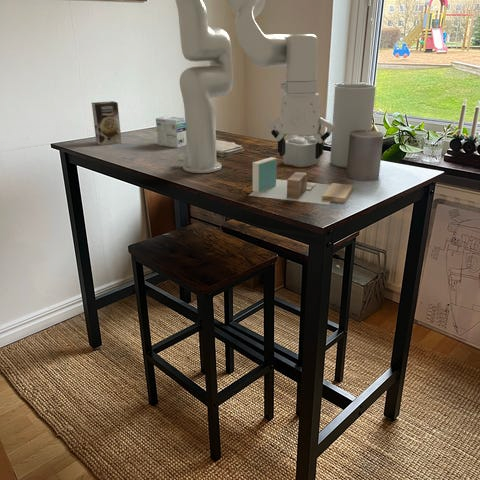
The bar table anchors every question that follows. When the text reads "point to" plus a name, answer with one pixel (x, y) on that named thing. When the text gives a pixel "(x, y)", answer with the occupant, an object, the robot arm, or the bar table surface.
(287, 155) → the lumpy-topped squat cylinder
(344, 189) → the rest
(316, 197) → the mat
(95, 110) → the coffee box
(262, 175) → the tile
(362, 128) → the cylinder vase
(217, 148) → the washcloth
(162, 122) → the light bulb box
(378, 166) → the pillar candle
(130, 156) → the bar table surface
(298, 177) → the light wood block
